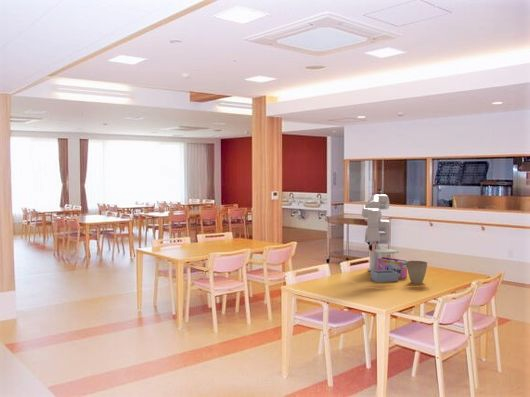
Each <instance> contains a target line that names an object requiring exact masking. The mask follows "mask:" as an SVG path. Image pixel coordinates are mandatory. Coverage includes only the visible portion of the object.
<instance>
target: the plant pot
mask: <svg viewBox="0 0 530 397" xmlns="http://www.w3.org/2000/svg"><path fill="white" fill-rule="evenodd" d="M406 261H407V262H406V263H407V275H408V277H409V280H410V283H411V284H416V285H418V284H419V285H420V284H423V282H424V279H425V277H426V273H427V268H428V262H427V261H423V260H406Z"/></svg>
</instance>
